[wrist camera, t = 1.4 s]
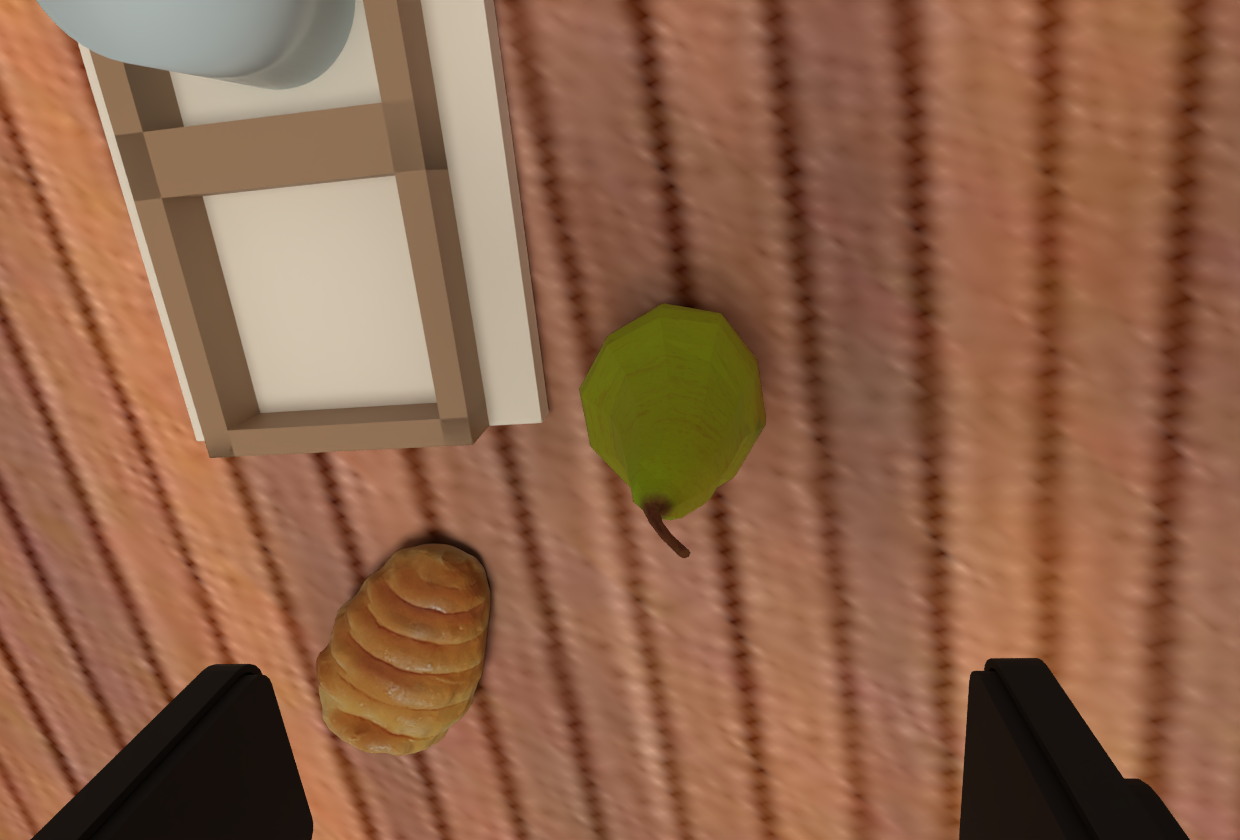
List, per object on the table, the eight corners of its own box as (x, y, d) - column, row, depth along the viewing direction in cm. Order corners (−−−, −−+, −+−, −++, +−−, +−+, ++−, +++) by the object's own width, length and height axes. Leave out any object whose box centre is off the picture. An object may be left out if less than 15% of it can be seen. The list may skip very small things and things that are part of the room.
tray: (462, -230, 21) (422, -295, 18) (548, 412, 28) (528, 442, 25) (49, -151, 23) (-50, -199, 20) (216, 430, 30) (160, 460, 27)
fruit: (604, 281, 26) (520, 365, 14) (778, 305, 25) (832, 412, 14) (586, 446, 28) (500, 632, 17) (746, 471, 27) (770, 680, 16)
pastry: (386, 503, 30) (342, 548, 26) (533, 570, 30) (510, 624, 27) (326, 667, 33) (280, 727, 30) (460, 726, 33) (430, 793, 30)
